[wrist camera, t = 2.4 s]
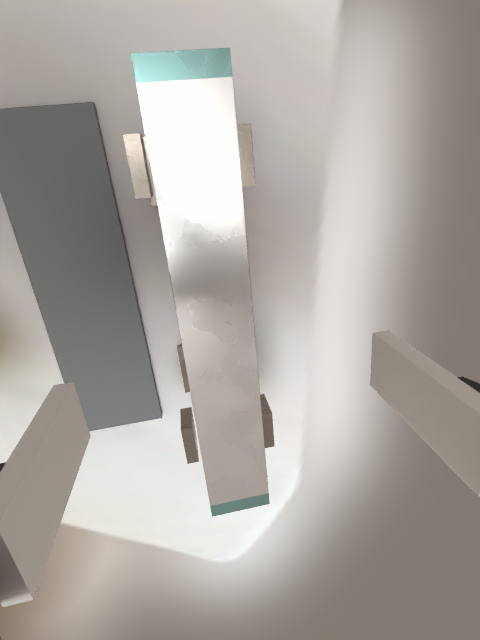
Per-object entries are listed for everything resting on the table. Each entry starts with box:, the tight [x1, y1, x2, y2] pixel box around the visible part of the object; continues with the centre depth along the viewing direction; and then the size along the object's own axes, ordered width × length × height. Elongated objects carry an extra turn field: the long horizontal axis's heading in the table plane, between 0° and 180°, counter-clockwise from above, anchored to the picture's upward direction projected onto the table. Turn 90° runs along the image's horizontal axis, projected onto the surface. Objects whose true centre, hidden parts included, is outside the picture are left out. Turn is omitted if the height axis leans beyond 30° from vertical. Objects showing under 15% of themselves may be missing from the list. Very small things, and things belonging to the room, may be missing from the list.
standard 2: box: [123, 124, 255, 206], centre depth 23 cm, size 5×6×11 cm
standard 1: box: [177, 345, 274, 464], centre depth 30 cm, size 5×6×11 cm
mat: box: [0, 102, 162, 431], centre depth 30 cm, size 28×8×1 cm, turn 6°
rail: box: [131, 48, 269, 516], centre depth 21 cm, size 26×4×5 cm, turn 6°
